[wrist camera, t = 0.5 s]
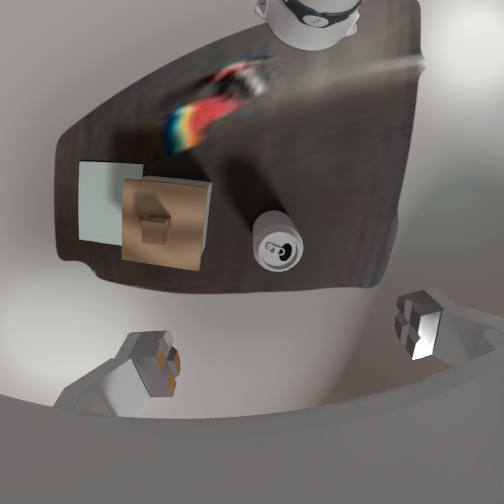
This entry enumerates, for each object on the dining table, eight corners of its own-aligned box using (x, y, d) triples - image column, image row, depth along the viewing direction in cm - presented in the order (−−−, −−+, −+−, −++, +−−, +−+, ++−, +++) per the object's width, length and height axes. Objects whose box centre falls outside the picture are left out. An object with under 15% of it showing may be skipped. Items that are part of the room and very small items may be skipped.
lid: (126, 178, 41) (112, 183, 37) (208, 186, 42) (202, 191, 37) (124, 257, 46) (112, 269, 41) (199, 268, 47) (194, 282, 42)
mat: (80, 161, 48) (79, 161, 48) (143, 164, 49) (142, 164, 49) (80, 238, 54) (79, 239, 54) (139, 247, 55) (138, 247, 54)
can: (287, 253, 55) (296, 280, 44) (248, 243, 55) (247, 270, 43) (298, 215, 53) (311, 234, 42) (258, 204, 52) (260, 221, 41)
